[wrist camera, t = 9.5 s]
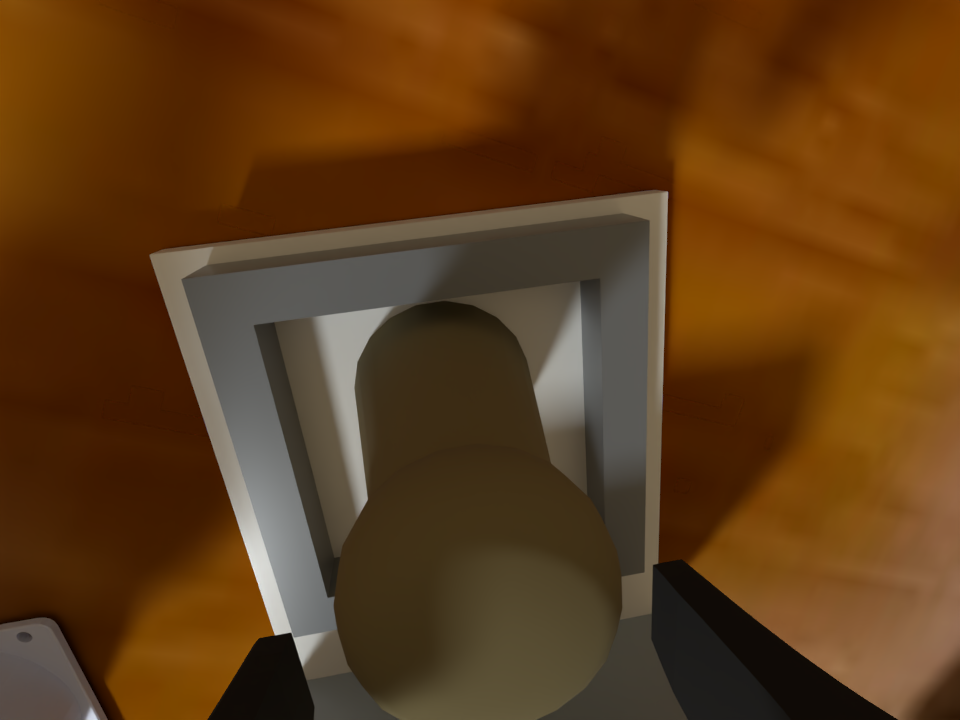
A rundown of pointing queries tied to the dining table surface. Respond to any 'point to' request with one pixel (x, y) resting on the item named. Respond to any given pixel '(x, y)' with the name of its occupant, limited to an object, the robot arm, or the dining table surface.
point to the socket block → (333, 412)
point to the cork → (467, 533)
